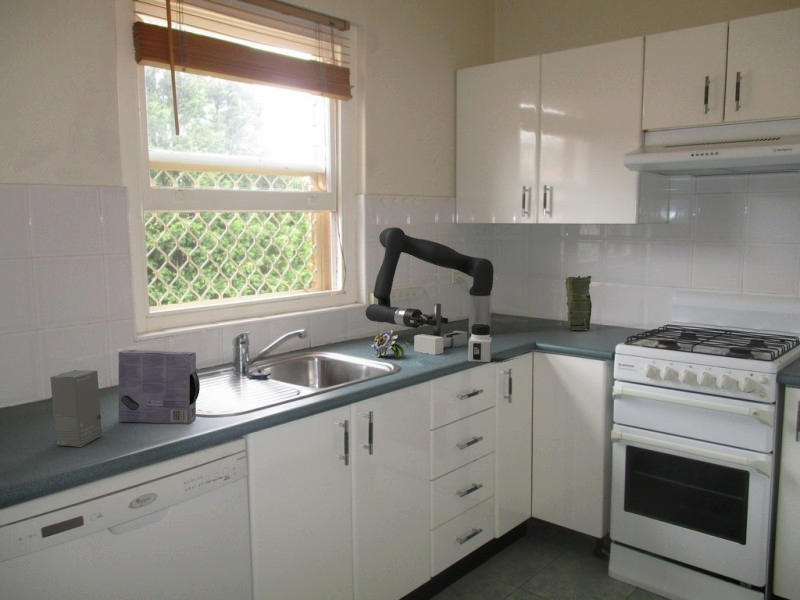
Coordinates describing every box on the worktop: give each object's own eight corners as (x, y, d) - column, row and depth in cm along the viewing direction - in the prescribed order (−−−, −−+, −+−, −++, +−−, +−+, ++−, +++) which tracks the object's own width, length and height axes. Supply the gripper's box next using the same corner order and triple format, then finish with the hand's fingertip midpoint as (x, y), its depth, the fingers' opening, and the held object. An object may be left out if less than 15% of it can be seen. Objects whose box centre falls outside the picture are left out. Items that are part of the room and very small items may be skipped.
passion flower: (379, 372, 243) (363, 344, 245) (400, 362, 250) (384, 335, 252) (394, 359, 235) (378, 330, 237) (416, 349, 242) (399, 321, 244)
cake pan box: (201, 418, 168) (199, 349, 166) (194, 424, 163) (192, 354, 161) (126, 417, 169) (123, 348, 167) (117, 423, 164) (114, 352, 162)
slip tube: (448, 343, 264) (449, 301, 262) (455, 345, 262) (456, 301, 260) (423, 349, 253) (424, 304, 250) (430, 350, 250) (431, 305, 248)
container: (490, 362, 235) (491, 326, 233) (468, 361, 236) (468, 325, 235) (491, 358, 242) (492, 322, 241) (470, 357, 244) (471, 322, 242)
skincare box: (80, 448, 146) (77, 377, 144) (51, 446, 147) (47, 376, 145) (104, 435, 154) (101, 369, 152) (76, 433, 156) (73, 367, 154)
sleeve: (457, 343, 270) (457, 330, 270) (467, 344, 267) (467, 331, 266) (443, 346, 264) (443, 333, 263) (454, 348, 260) (454, 334, 260)
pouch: (562, 330, 301) (565, 275, 298) (567, 327, 312) (569, 273, 309) (588, 332, 297) (590, 277, 294) (591, 328, 308) (593, 274, 305)
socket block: (422, 349, 257) (422, 334, 257) (443, 352, 251) (443, 337, 250) (414, 351, 254) (414, 335, 253) (435, 354, 247) (435, 339, 246)
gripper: (396, 309, 258) (430, 314, 247) (419, 306, 269) (453, 310, 258) (396, 329, 259) (430, 334, 248) (419, 324, 270) (452, 329, 259)
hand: (441, 322), depth 253 cm, fingers open, 6 cm apart
